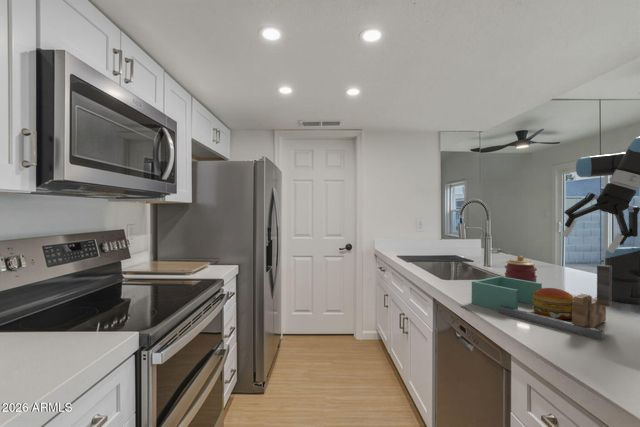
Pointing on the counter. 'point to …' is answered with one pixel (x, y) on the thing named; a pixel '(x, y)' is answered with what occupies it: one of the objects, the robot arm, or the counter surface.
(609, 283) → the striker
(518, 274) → the canister
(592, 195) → the robot arm
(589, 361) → the counter surface
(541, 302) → the burger
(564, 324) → the rail
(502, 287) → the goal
